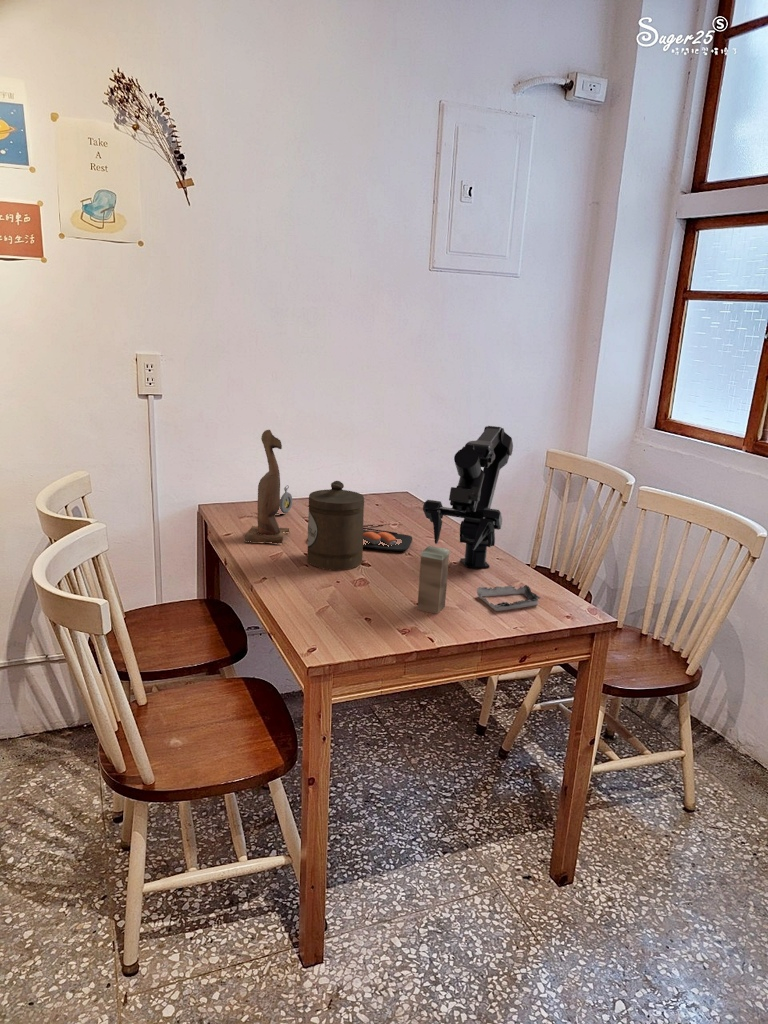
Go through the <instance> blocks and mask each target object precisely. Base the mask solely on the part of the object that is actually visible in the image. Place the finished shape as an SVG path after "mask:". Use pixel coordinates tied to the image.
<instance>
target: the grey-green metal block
mask: <svg viewBox="0 0 768 1024" xmlns="http://www.w3.org/2000/svg"><path fill="white" fill-rule="evenodd" d="M420 554H421V555H420V567H419V581H418V595H417V610H418V611H422V612H427V613H432V614H436V615H438V614H439V613H440V612H441V611H442V610H444V608H445V607H446V600H447V599H446V598H447V597H446V596H447V585H448V583H447V582H448V574H449V571H448V570H449V561H450V548H449V549H448V548H444V547H442V548H441V547H437V546H431V545H428V546H426V548H425V549H423V550H421V553H420Z"/></svg>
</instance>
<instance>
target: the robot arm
mask: <svg viewBox="0 0 768 1024" xmlns="http://www.w3.org/2000/svg"><path fill="white" fill-rule="evenodd" d="M513 448H514V443H513V438H512V436H511V435H509V434H508V433H507V432H505V429H504V427H502V426H496V425H495V426H493V425H486V426H485V427H484V430H483V432H482V433H481V435H479V437H478V438H477V440H469V441H468V442H466V443H465V445H464V446H463V447H462V448H461V449H459V450H458V451H457V452H456V453H455V454H454V456H453V457H454V459H453V460H454V464H455V468H456V471H457V475H458V476H459V480H458V484H457V485H456V487H454V486H451V487H450V491H449V497H448V501H449V504H450V506H451V507H446V506H443V503H442V501H439V500H432V499H426V501H424V502H423V505H422V511H423V514H424V515H425V518H426V519H428V520H429V521H430V522H431V523H432V525H433V537H434V543H435V545H438V542H439V539H440V537H441V531H442V526H443V521H442V519H443V518H444V516H446V517H447V516H448V517H452V518H453V517H455V518H458V519H463V520H461V522H460V525H459V543H461V544H462V543H464V544H465V551H464V553H465V554H464V558H463V557H462V558H460V559H459V560H460V562H461V563H462V564H463V565H464V566H465V567H466V568H468V569H473V568H474V569H475V568H476V569H478V568H479V569H481V568H483V569H485V568H490V567H491V565H490V564H489V563H488V562H487V551H488V548H491V547H495V545H496V543H495V542H496V533H495V531H496V530H501V528H502V525H503V516H502V512H501V511H500V509H496V508H495V509H494V508H491V507H492V503H493V499H494V494H495V490H496V486H497V482H498V480H499V479H498V478H499V475H500V471H501V469H502V468H503V467H505V466H506V465H507V464H508V462H509V458H510V456H512V455H513ZM482 468H483V470H482Z"/></svg>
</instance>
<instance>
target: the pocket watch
mask: <svg viewBox="0 0 768 1024" xmlns="http://www.w3.org/2000/svg"><path fill="white" fill-rule="evenodd" d="M289 487H290V486H289V485H286V486H284V488H283V490H284V493H283V494H282V495H281V496H280V507H279V508H280V509H281V511H282V512H283V513H286V514H287V513H289V511H290V510H291V508H292V505H293V496H292V494H291V493H290V492H288V489H289ZM276 514H279V513H276Z"/></svg>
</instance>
